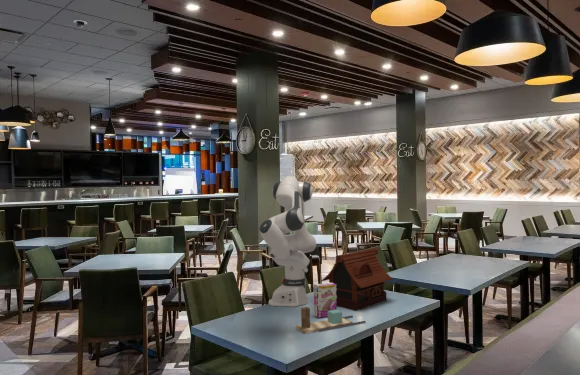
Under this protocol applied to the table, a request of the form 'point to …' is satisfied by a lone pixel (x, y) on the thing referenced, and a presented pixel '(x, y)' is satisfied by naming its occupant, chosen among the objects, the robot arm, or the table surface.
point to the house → (358, 279)
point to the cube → (334, 316)
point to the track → (342, 325)
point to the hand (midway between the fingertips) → (299, 270)
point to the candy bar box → (324, 299)
